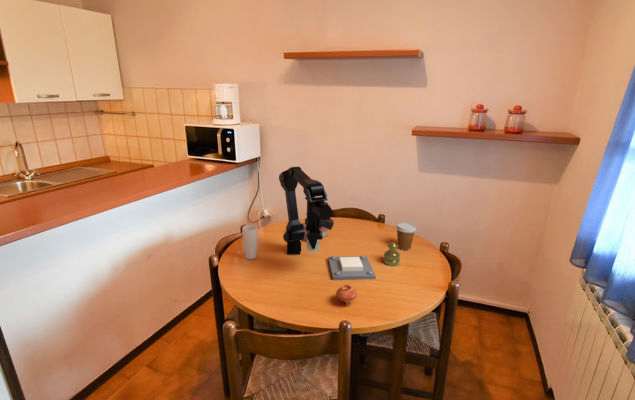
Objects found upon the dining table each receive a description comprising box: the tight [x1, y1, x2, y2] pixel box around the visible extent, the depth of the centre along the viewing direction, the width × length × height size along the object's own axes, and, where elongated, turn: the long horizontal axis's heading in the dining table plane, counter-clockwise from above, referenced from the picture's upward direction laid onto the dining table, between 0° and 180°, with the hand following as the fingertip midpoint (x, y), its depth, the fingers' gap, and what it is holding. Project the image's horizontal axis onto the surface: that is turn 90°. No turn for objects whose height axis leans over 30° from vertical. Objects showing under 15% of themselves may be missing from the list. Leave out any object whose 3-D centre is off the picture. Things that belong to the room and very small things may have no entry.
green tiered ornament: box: [383, 241, 401, 267], centre depth 159 cm, size 7×7×10 cm
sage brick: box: [306, 239, 321, 253], centre depth 148 cm, size 5×5×5 cm
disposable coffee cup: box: [395, 222, 417, 251], centre depth 174 cm, size 10×10×12 cm
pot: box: [335, 284, 358, 307], centre depth 130 cm, size 8×8×7 cm
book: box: [301, 222, 330, 243], centre depth 187 cm, size 14×15×5 cm
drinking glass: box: [241, 224, 258, 260], centre depth 160 cm, size 7×7×15 cm
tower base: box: [327, 255, 377, 281], centre depth 153 cm, size 18×18×4 cm
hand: (313, 246), depth 149 cm, fingers closed on sage brick, 5 cm apart
